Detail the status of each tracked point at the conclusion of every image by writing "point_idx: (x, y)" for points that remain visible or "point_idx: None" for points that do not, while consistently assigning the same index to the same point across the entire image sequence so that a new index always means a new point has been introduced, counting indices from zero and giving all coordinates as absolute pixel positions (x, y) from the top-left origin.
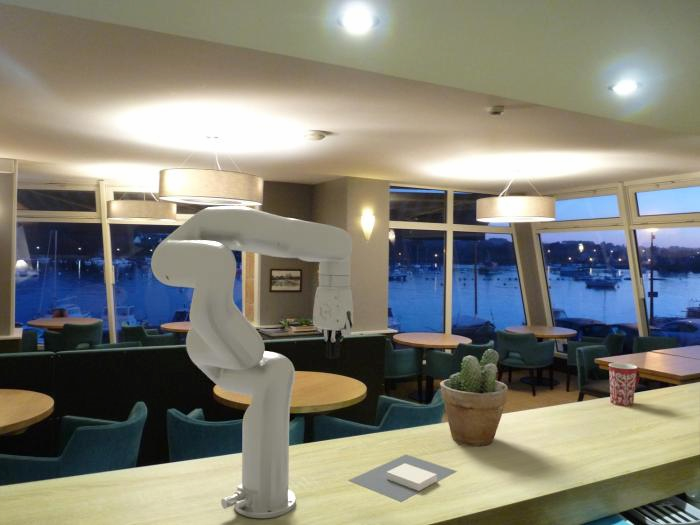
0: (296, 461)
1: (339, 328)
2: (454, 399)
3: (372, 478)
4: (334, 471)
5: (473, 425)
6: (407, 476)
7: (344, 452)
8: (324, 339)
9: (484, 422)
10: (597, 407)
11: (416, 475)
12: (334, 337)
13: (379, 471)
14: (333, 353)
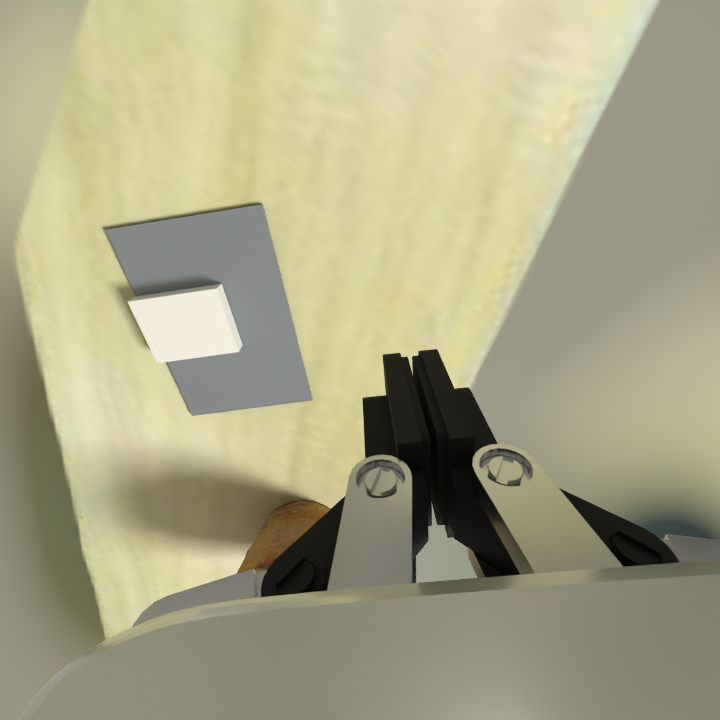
0: (451, 171)
1: (50, 681)
2: None
3: (241, 260)
4: (335, 217)
5: (260, 540)
6: (173, 308)
7: (412, 311)
8: (526, 453)
9: (245, 557)
10: None
11: (169, 327)
12: (345, 509)
13: (266, 299)
14: (380, 397)
